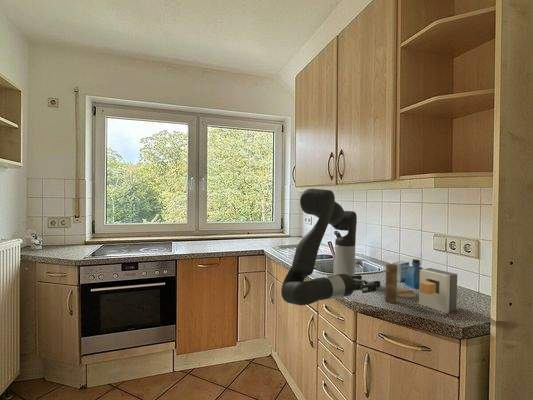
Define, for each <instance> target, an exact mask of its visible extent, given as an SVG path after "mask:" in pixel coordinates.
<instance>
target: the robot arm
mask: <svg viewBox="0 0 533 400" xmlns="http://www.w3.org/2000/svg"><path fill="white" fill-rule="evenodd" d="M300 195H301V196H300V199H299V202H300V207H301V210H302V211H303V212H304V213H305V214H306V215H310V216H311V215H312V216H314V217H316V218H317V219H318V220H317V221H316V223H315V224H314V225H313V227H312V228H311V229H310V230H309V232H307V234H305V235H304V236H303V237H302V238H301V240H300V241H299V242H298V244H297V246H296V249H295V252H294V256H293V259H292V264H291V267H290V268H289V270H288V272H287V274H286V276H285V278H284V279H283V282H282V285H281V289H280V290H281V291H280V293H281V297H282V300H283V301H284V302H285V303H287V304H292V305H297V306H308V305H311V304H314V303H316V302H319V301H324V300H332V299H333V300H334V299H338V298H339V299H340V298H345V297H349V296H351V295H352V294H353V293H354V292H357V291H361V292H362V293H363V294H366V293H367V294H368V293H375V292H377V289H378V288H381V281H380V280H375V281H368V280H366V279H363V276H362V275H361V274H358V275H356V240H357V239H356V238H357V236H356V234H357V224H358V220H357V217H358V216H357V213H356V211H353V210H344V208H343V206H342V205H341V204H339V203H338V202H337V201H336V199H335V198H336V197H335V194H334V192H333V191H332V190H330V189H324V188H322V189H321V188H307V189H305V190H304V191H303V192H302V193H301V194H300ZM329 225H330V226H332V228H333V229H335V230H337V231H345V232H346V231H347V233H346V235H343V236H339V237H336V238H335V242H334V243H335V245H334V250H335V251H334V260H332V261H333V263H332V264H333V266H332V267H333V270H332V271H333V273H332V275H331V274H330V275H327V276H323V277H316V278H313V279H310V280H305V278H307V277H309V276H311V275H313V272H314V270H315V265H316V263H317V262H316V261H317V257H318V252H319V249H320V246H321V243H322V242H323V241H322V240H323V238H324V237H325V233H326V232H327V231H326V230H327V229H328V226H329Z"/></svg>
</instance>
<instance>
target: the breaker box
mask: <svg viewBox="0 0 533 400" xmlns="http://www.w3.org/2000/svg"><path fill="white" fill-rule="evenodd" d="M424 281H428V282H432V283H436V293H434V294H430V295H428V294H425V293H422V292H420V284H419V291H418V298H419V299H418V305H421V306H423V305H424V306H423V307H426V306H427V307H426V308H429V307H430V309H431V308H432V310H434V309H436V310H435V311H437V310H438V312H440V311H441V312H440V313H443V312H444V313H443V314H449V313H452V312H455V310H456V311H457V307H458V306H457V303H458V301H457V300H458V298H457V297H458V273H454V272H450V271H445V270H442V269H437V268H432V267H428V268H423V269H421V270H420V282H424Z"/></svg>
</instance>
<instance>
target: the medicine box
mask: <svg viewBox="0 0 533 400" xmlns="http://www.w3.org/2000/svg"><path fill="white" fill-rule="evenodd" d="M391 264H395V265H397V283H398V282H399V283H402V282H405V271H406V270H407V269H408V267H409V266H410V262H409V261H406V260H405V261H403V260H399V261H394V262H392V263H391Z"/></svg>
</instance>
